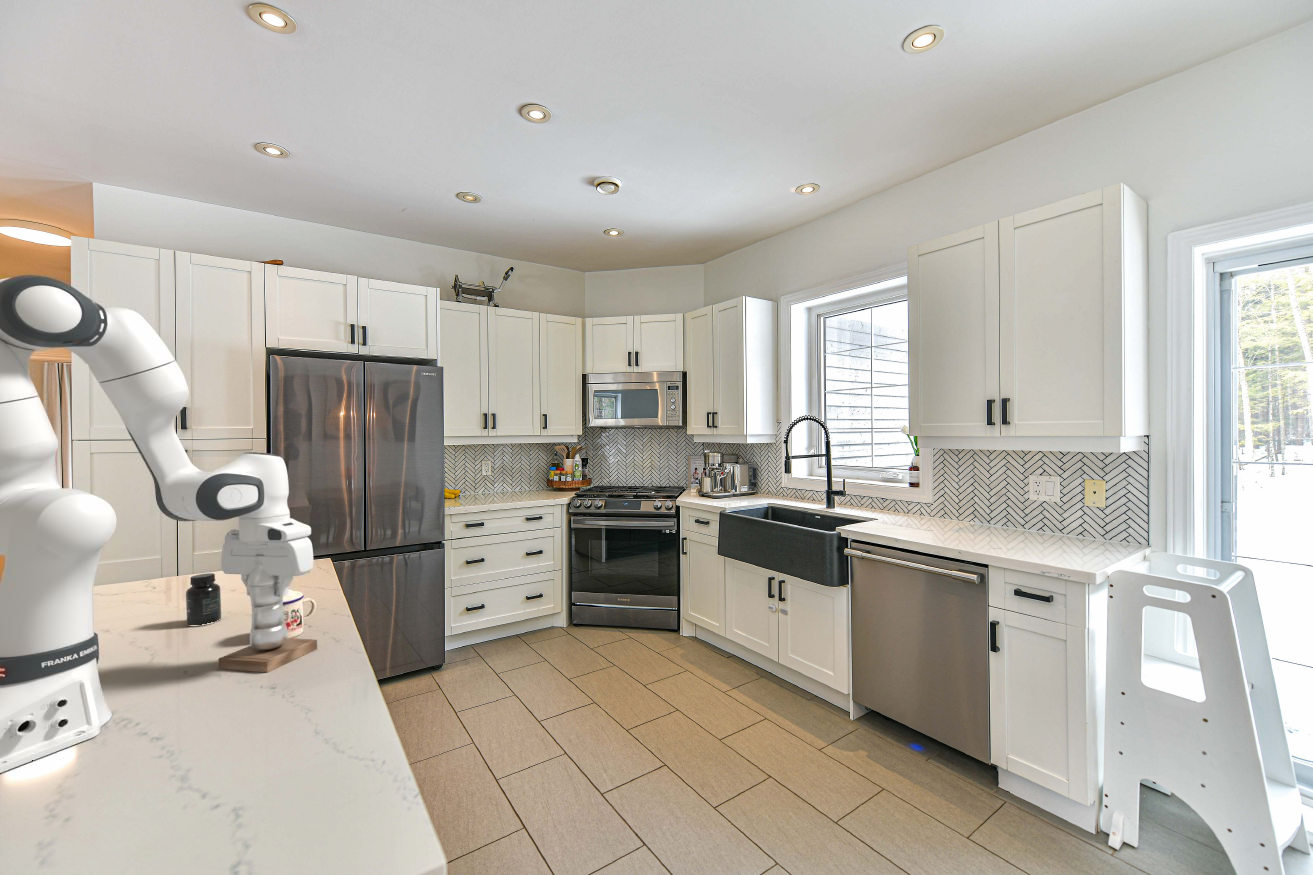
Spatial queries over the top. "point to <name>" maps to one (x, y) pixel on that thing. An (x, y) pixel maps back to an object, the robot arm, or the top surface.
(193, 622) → the supplement bottle
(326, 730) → the top surface
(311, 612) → the teacup with lid
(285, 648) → the display stand
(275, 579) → the plastic bottle
